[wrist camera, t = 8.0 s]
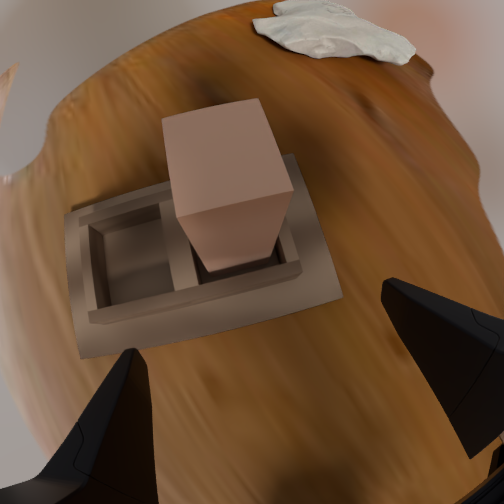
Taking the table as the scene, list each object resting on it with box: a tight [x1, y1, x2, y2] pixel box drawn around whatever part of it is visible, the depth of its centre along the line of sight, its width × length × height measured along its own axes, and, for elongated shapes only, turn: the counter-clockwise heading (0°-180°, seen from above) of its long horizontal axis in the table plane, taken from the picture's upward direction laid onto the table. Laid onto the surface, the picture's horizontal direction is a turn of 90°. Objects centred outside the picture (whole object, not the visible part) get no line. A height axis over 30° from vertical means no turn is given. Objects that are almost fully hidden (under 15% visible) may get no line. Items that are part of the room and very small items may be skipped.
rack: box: [64, 153, 343, 359], centre depth 20 cm, size 12×20×4 cm, turn 105°
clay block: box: [162, 98, 294, 277], centre depth 15 cm, size 4×4×11 cm
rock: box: [253, 0, 416, 65], centre depth 27 cm, size 21×5×15 cm
